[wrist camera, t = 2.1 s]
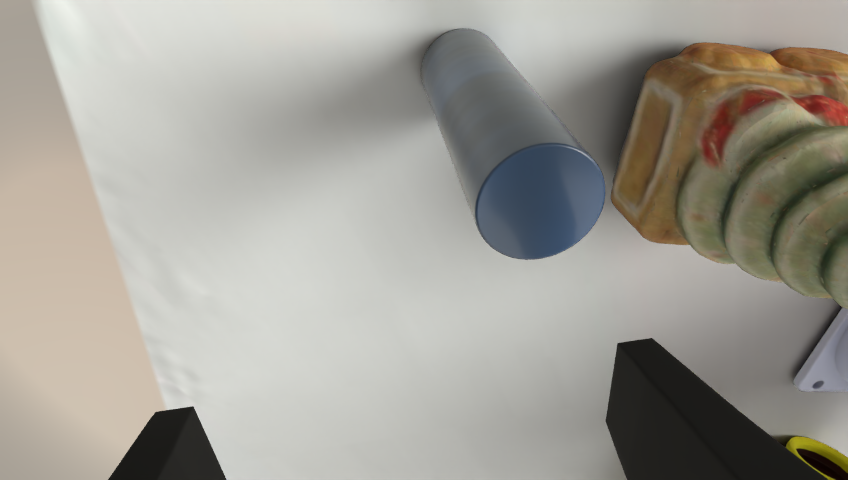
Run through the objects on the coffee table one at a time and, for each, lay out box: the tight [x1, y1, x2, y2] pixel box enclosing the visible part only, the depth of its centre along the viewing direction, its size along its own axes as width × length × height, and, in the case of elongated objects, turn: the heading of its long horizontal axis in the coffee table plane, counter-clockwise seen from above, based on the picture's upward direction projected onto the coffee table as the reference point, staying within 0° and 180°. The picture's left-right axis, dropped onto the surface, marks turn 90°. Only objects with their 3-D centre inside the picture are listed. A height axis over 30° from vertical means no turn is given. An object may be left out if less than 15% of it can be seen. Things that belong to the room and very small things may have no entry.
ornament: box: [611, 43, 848, 309], centre depth 15 cm, size 8×6×10 cm
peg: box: [421, 29, 605, 260], centre depth 14 cm, size 2×2×8 cm
